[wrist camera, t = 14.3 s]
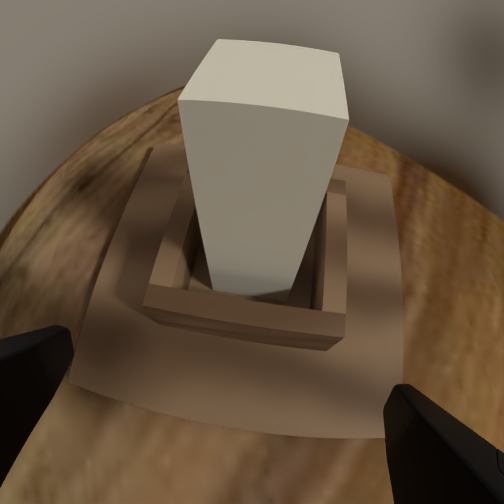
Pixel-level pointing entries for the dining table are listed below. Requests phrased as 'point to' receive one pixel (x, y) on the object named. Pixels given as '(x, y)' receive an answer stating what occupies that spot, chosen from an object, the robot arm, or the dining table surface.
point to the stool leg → (261, 157)
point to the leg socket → (249, 316)
